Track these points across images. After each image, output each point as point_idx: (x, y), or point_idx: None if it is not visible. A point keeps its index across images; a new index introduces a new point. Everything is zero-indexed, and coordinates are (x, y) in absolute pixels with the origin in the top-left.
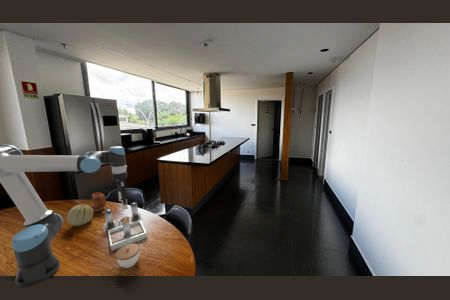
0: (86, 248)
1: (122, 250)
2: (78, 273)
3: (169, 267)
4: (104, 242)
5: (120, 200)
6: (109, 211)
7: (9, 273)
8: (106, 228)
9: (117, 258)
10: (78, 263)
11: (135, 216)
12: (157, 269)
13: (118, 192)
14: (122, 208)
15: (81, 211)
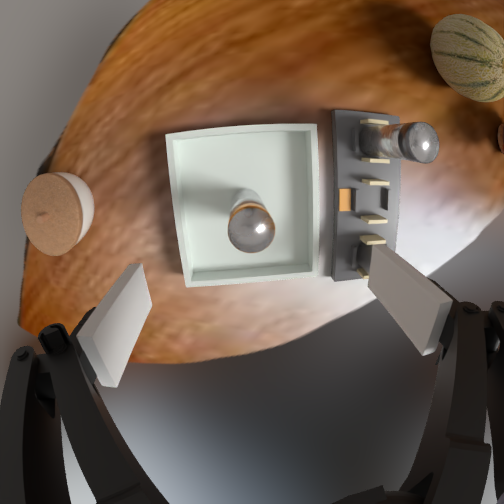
0: (255, 47)
1: (51, 197)
2: (116, 51)
3: (39, 299)
4: (257, 107)
5: (375, 257)
6: (408, 146)
7: None
8: (359, 123)
9: (32, 180)
10: (169, 36)
11: (362, 260)
12: (38, 273)
13: (436, 300)
14: (123, 272)
15: (473, 48)
